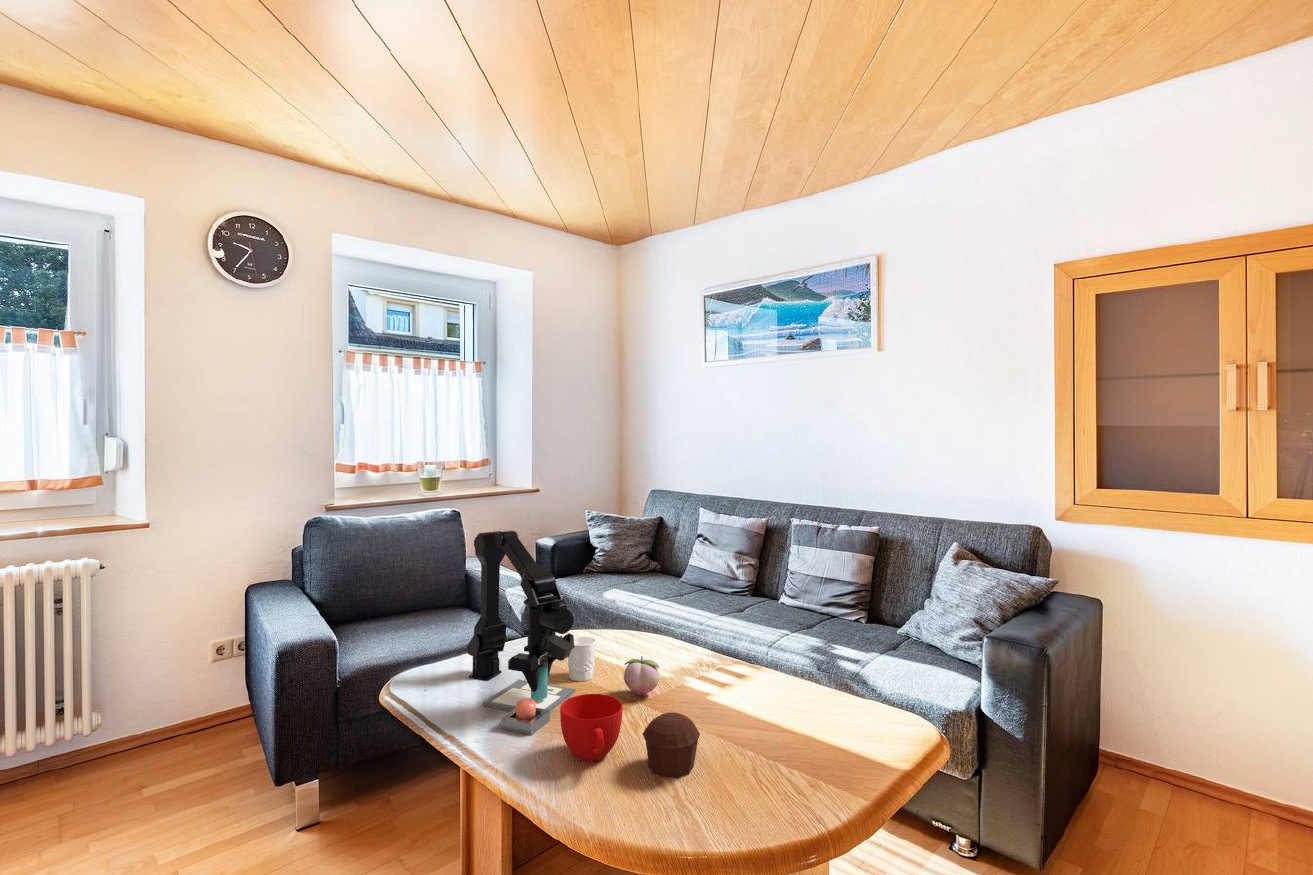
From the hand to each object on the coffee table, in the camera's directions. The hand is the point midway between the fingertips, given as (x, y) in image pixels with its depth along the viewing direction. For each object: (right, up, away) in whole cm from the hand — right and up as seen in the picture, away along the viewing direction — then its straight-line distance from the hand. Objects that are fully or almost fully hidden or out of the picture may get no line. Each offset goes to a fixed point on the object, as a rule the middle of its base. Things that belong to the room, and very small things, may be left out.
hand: (538, 688), depth 156 cm
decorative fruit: (+25, -4, +7) cm, 26 cm away
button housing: (-1, -4, -11) cm, 12 cm away
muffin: (+32, -4, -29) cm, 44 cm away
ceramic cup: (+16, -4, -26) cm, 31 cm away
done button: (-1, -2, -11) cm, 12 cm away
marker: (0, -2, 0) cm, 2 cm away
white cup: (+8, -4, +18) cm, 21 cm away
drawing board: (-3, -4, +3) cm, 6 cm away
